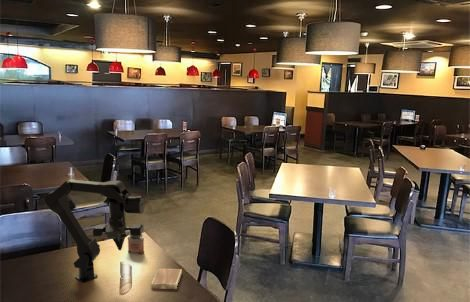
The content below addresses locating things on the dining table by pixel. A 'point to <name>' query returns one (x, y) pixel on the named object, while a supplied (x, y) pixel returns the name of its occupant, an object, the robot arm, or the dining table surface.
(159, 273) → the brown tile
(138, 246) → the brown upright container
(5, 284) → the dining table surface
